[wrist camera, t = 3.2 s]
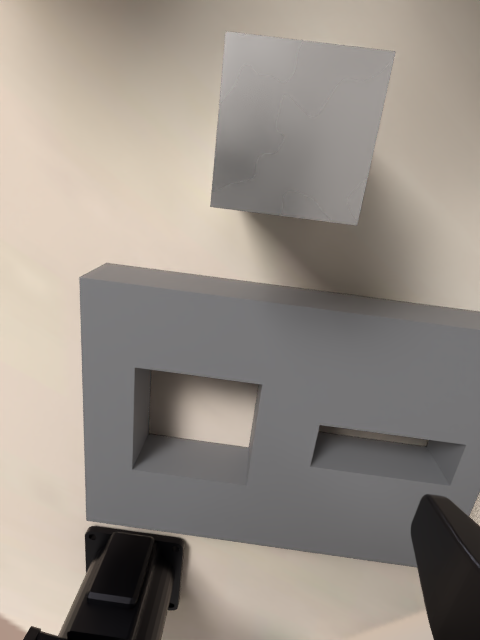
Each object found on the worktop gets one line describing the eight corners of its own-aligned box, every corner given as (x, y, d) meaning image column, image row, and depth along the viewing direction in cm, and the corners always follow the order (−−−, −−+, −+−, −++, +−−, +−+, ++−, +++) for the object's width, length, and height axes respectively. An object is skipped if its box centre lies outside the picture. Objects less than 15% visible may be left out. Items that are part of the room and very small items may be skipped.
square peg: (318, 206, 18) (357, 225, 10) (233, 195, 18) (210, 206, 10) (336, 109, 16) (395, 51, 9) (243, 98, 17) (225, 31, 9)
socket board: (424, 525, 24) (445, 571, 21) (107, 480, 24) (86, 520, 21) (504, 314, 19) (545, 338, 16) (106, 263, 19) (79, 277, 17)
